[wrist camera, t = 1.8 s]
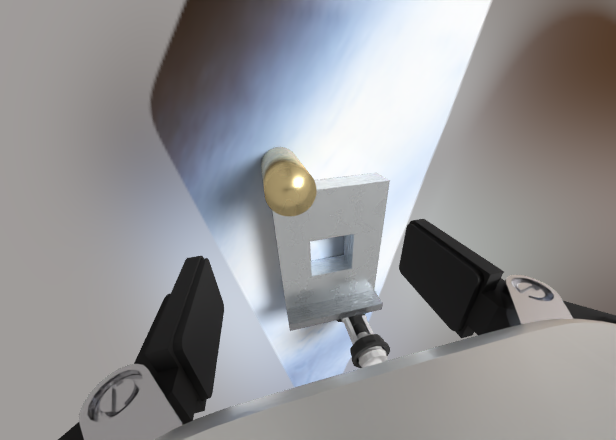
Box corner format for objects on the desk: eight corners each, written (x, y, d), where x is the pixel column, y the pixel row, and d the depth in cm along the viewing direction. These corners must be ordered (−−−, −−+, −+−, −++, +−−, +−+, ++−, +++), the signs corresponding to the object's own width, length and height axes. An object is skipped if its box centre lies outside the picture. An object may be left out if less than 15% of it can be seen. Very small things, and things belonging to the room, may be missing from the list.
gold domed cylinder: (258, 148, 22) (260, 170, 15) (296, 145, 23) (316, 164, 16) (264, 186, 24) (268, 219, 17) (299, 181, 25) (317, 212, 18)
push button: (321, 314, 37) (341, 379, 28) (328, 291, 34) (353, 354, 26) (356, 312, 39) (385, 372, 30) (365, 290, 36) (400, 349, 28)
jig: (268, 185, 24) (272, 206, 19) (376, 172, 26) (403, 188, 22) (284, 298, 33) (290, 330, 28) (364, 281, 35) (381, 309, 30)
